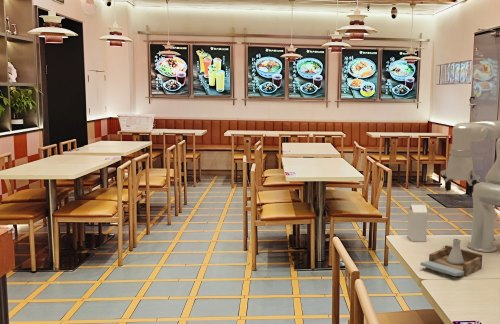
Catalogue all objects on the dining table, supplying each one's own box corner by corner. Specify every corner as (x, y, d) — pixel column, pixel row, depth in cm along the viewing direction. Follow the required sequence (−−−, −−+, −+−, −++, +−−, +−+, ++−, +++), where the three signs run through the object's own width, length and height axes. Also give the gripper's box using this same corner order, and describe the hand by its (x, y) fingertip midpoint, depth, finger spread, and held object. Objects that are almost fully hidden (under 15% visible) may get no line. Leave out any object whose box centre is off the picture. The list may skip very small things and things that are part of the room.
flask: (466, 266, 195) (468, 242, 194) (447, 264, 197) (449, 241, 195) (462, 259, 202) (464, 237, 201) (444, 258, 204) (446, 236, 202)
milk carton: (425, 241, 233) (428, 204, 230) (411, 241, 233) (413, 204, 230) (421, 237, 240) (423, 201, 237) (407, 237, 240) (408, 201, 237)
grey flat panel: (429, 260, 200) (420, 262, 196) (464, 271, 189) (455, 273, 184) (428, 265, 201) (420, 266, 196) (463, 275, 189) (455, 277, 184)
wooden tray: (445, 258, 210) (446, 245, 209) (481, 268, 198) (482, 254, 197) (428, 265, 201) (429, 251, 200) (465, 276, 189) (466, 262, 188)
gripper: (437, 152, 208) (436, 190, 211) (477, 156, 195) (474, 197, 197) (446, 151, 213) (444, 188, 215) (485, 155, 199) (482, 194, 202)
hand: (458, 192), depth 206 cm, fingers open, 9 cm apart
